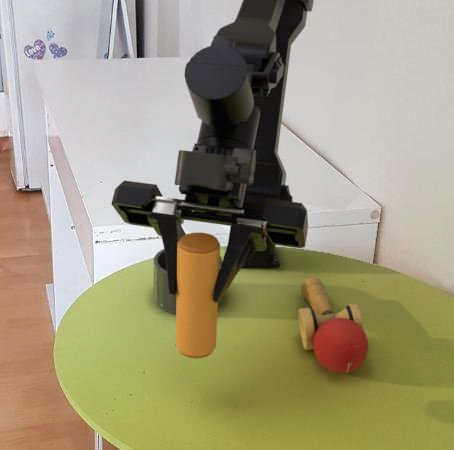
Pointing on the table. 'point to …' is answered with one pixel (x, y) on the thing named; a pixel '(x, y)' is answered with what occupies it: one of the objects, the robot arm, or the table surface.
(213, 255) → the orange tall cylinder
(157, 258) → the pot
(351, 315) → the kendama
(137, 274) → the table surface
